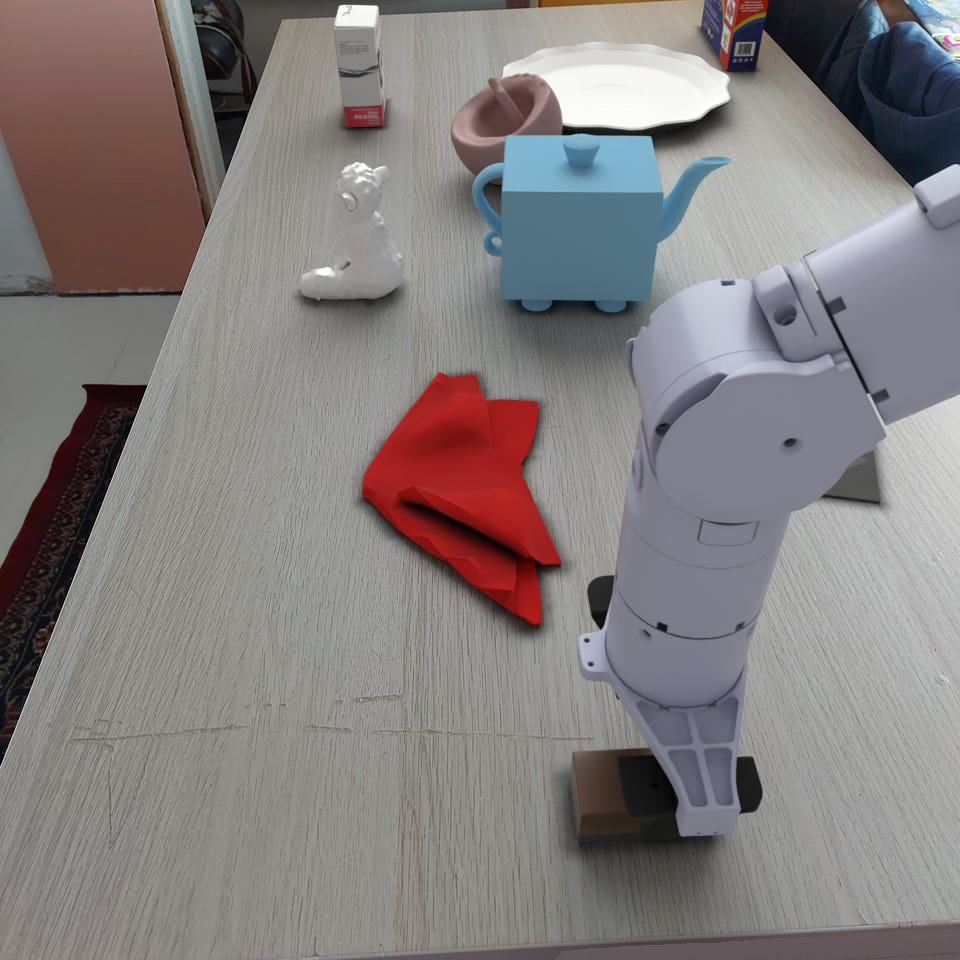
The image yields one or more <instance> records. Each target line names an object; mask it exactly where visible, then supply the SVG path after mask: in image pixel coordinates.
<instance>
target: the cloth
mask: <svg viewBox="0 0 960 960" xmlns="http://www.w3.org/2000/svg"><path fill="white" fill-rule="evenodd" d="M539 405H540V404H539V402H537V401H536V400H523V399H522V400H521V399H510V398H509V399H508V398H499V399H498V398H497V399H489V400H487V399H486V396H485V395H484V394H483V393H482V390H481V386H480V383H479V378H478V375H477V374H474V373H469V374H463V375H456V376H450V375H448V374H446V373H444V372H441V371H437V374H436V375H435V376H434V378H433V379H432V380H431V382H430V383H429V384H428V385H427V386H426V388H425V389H424V391H423V393H422V394H421V395H420V397H418V399H417V400H416V401H415V402H414V404H412V406H411V407H410V408H409V409H408V410H407V412H406V413H405V414H404V416H403V417H402V418H401V419H400V421H399V423H398V424H397V425H396V426H395V428H394V429H393V430H392V431H391V433H390V434H389V436H387V438H386V440H385V441H384V443H383V444H382V446H381V447H380V449H379V451H378V452H377V453H376V455H375V456H374V457H373V459H372V460H371V461H370V463H369V465H368V466H367V468H366V470H365V472H364V474H363V478H362V487H361V495H362V496H363V497H365V499H367V500H368V502H370V503H371V504H372V505H373V506H374V507H375V508H376V509H377V510H378V511H379V513H381V514H382V515H383V517H384V518H386V520H387V521H388V522H389V523H390V524H391V525H392V526H393V527H394V528H395V529H397V530H398V531H399V532H400V533H402V534H403V535H404V536H406V537H407V538H408V539H410V540H411V541H413V542H414V543H415V544H416V545H417V546H420V547H421V548H422V549H424V550H425V551H427V552H428V553H430V554H431V555H432V556H433V557H436V558H437V559H439V560H440V561H443V562H445V563H447V564H449V565H450V566H452V567H453V569H455V570H456V571H457V572H458V573H459V574H460V576H462V578H464V579H465V580H466V582H467V583H469V584H470V585H471V586H473V587H474V588H476V589H477V590H479V591H480V592H482V593H483V594H485V595H486V596H487V597H489V598H490V599H492V600H493V601H495V602H497V604H499V605H501V606H502V607H503V608H505V609H507V610H508V611H510V613H512V614H514V615H516V616H518V617H519V618H521V619H522V620H523V621H525V622H527V623H528V624H530V625H531V626H533V627H536V626H538V625H542V599H541V593H540V592H541V591H540V587H539V581H538V580H539V579H538V575H537V570H536V562H537V563H538V564H540V565H541V566H562V564H563V562H562V561H561V558H560V556H559V553H558V551H557V549H556V547H555V545H554V542H553V540H552V537H551V535H550V533H549V530H548V528H547V526H546V524H545V522H544V520H543V518H542V516H541V513H540V512H539V509H538V507H537V505H536V502H535V500H534V497H533V495H532V492H531V490H530V488H529V485H528V483H527V480H526V479H525V478H524V477H523V475H522V472H523V468H522V467H523V466H522V463H523V462H524V460H525V459H526V458H527V456H528V454H529V452H530V450H531V447H532V444H533V442H534V438H535V434H536V429H537V425H538V421H539ZM535 561H536V562H535Z"/></svg>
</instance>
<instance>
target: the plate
mask: <svg viewBox="0 0 960 960" xmlns="http://www.w3.org/2000/svg"><path fill="white" fill-rule="evenodd" d="M502 70H503V72H502V77H501V78H500V79H502V78H505V77H507V76H513V75H515V74H518V73H519V74H524V73H530V74H537V75H538V76H540V77H541V78H543V79H544V80H545V81H546V82H547V83H548V85H549V86H550V87H551V88H552V90H553V91H554V93H555V95H556V97H557V99H558V102H559V105H560V108H561V113H562V121H563V128H562V131H566V132H570V133H574V134H588V135H592V136H649V135H655V134H660V133H663V132H668V131H671V130H676V129H678V128H680V127H682V126H685V125H690V124H693V123H696V122H699V121H701V120H702V119H703V118H704V117H705V116H707V115H708V114H709V113H710V112H711V113H712V112H713V111H715V110H717V109H719V108H721V107H723V106H725V105H727V104H729V102H730V101H731V95H730V93H729V89H728V85H729V84H730V80H731V78H730V76H729V75H728V74H727V73H725V72H723V71H721V70H719V69H717V68H716V67H713V66H711V65H710V64H709V63H708V62H707V61H706V60H704V59H703V58H702V57H700V56H698V55H695V54H690V53H685V52H681V51H675V50H671V49H668V48H664V47H661V46H659V45H658V46H657V45H654V44H648V43H616V42H606V41H588V42H583V43H578V44H573V45H567V46H557V47H556V46H555V47H545V48H541V49H539V50H537V51H535V52H533V53H532V54H530V55H528V56H527V57H524V58H521V59H518V60H515V61H512V62H509V63H507V64H506V65H504V66H503V69H502Z"/></svg>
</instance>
